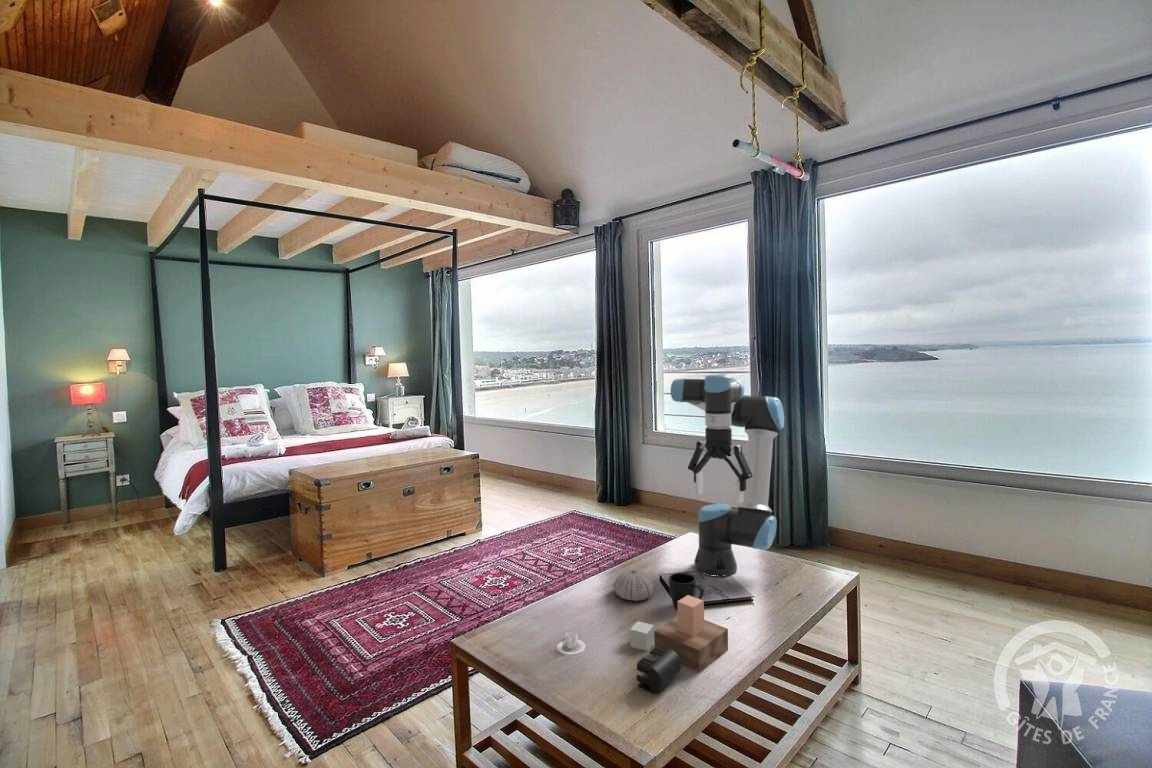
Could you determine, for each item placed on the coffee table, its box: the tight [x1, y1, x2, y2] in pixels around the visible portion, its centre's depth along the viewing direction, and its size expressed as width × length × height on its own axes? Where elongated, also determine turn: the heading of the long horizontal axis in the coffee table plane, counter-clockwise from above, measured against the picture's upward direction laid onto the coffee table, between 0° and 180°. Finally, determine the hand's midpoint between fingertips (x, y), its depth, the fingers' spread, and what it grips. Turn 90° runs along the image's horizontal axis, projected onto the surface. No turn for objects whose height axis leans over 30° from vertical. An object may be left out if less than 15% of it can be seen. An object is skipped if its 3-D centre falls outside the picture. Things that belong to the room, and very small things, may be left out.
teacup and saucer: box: [556, 631, 586, 656], centre depth 154 cm, size 9×8×4 cm
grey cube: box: [629, 620, 655, 652], centre depth 154 cm, size 5×5×5 cm
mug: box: [668, 572, 705, 611], centre depth 172 cm, size 8×12×10 cm
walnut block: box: [654, 615, 729, 673], centre depth 149 cm, size 14×14×6 cm
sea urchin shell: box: [612, 569, 655, 602], centre depth 184 cm, size 13×14×8 cm
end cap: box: [636, 647, 682, 694], centre depth 136 cm, size 10×7×7 cm
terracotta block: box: [677, 595, 705, 637], centre depth 149 cm, size 5×5×8 cm
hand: (719, 497), depth 165 cm, fingers open, 13 cm apart
